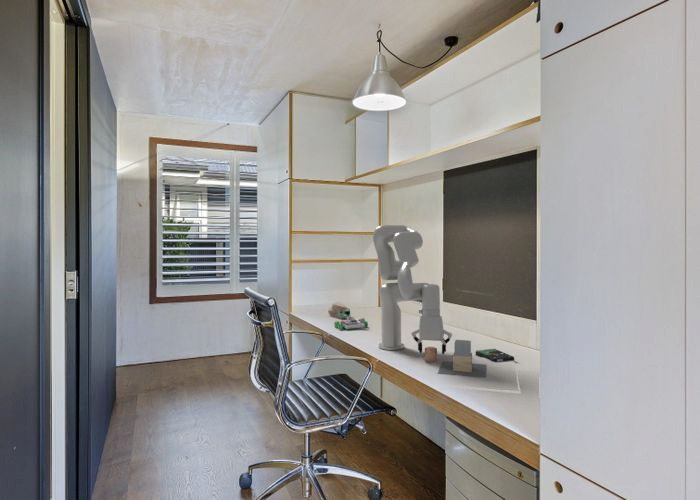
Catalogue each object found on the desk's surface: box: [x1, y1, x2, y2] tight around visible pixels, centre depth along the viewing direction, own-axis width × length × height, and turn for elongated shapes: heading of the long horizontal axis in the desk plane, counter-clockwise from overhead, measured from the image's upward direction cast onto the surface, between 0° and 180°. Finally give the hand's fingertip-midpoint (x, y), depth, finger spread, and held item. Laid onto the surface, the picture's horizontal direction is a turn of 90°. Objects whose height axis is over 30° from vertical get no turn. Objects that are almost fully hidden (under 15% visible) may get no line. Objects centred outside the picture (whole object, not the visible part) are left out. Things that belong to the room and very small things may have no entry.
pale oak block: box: [452, 352, 473, 372], centre depth 177 cm, size 7×7×6 cm
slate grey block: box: [453, 339, 472, 357], centre depth 176 cm, size 6×6×5 cm
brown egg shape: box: [424, 346, 438, 363], centre depth 190 cm, size 5×5×6 cm
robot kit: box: [334, 309, 369, 331], centre depth 268 cm, size 19×25×9 cm
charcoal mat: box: [436, 360, 488, 379], centre depth 177 cm, size 18×18×1 cm
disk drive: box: [475, 348, 515, 363], centre depth 195 cm, size 10×3×15 cm
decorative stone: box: [327, 301, 351, 319], centre depth 298 cm, size 20×8×10 cm, turn 34°
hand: (432, 352), depth 189 cm, fingers open, 9 cm apart
